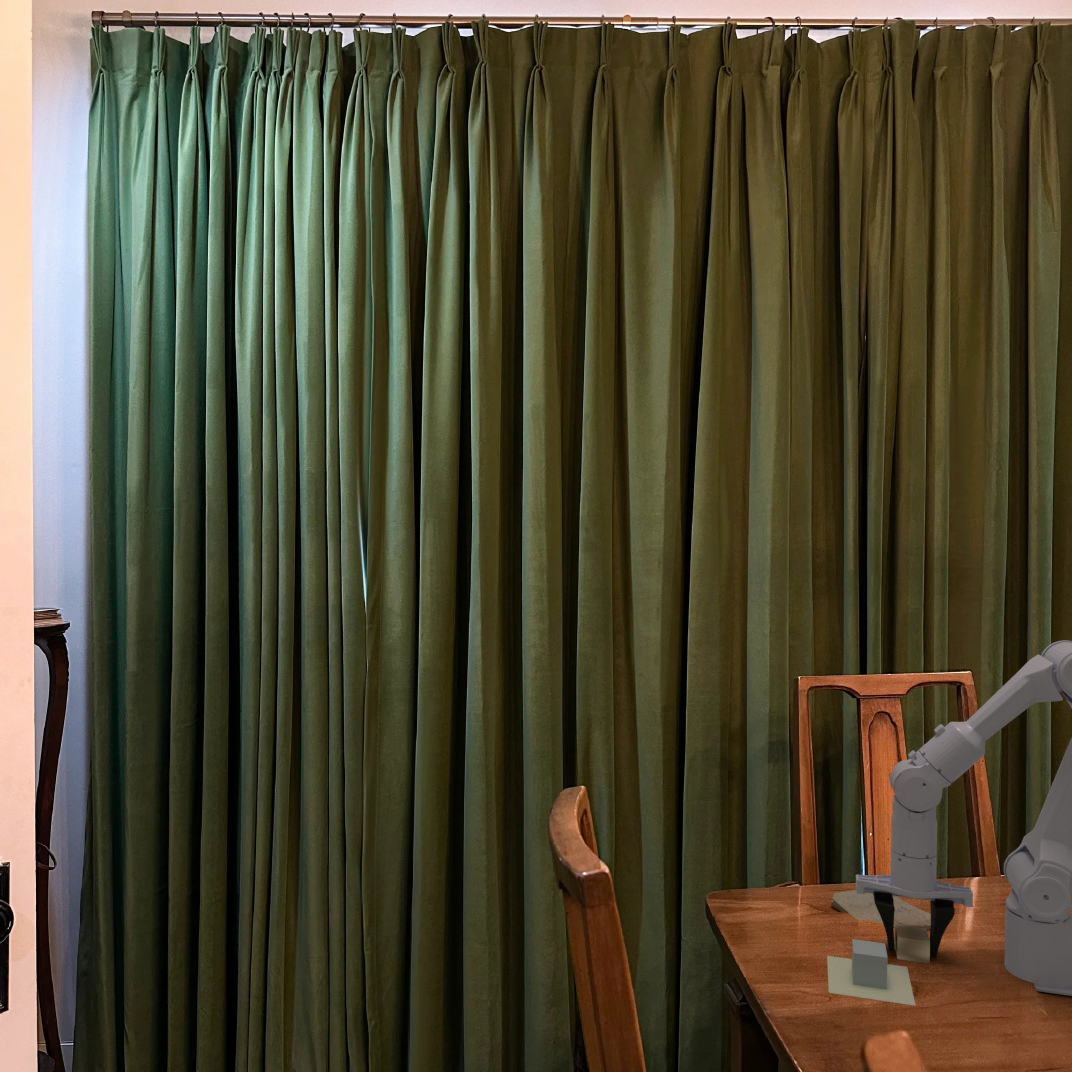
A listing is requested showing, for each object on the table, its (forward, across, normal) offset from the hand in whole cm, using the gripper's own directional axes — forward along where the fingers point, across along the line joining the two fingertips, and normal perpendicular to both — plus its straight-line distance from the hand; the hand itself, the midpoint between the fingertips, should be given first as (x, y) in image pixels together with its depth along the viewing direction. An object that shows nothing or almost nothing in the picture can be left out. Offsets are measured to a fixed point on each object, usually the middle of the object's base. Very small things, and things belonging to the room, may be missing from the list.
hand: (911, 951), depth 123 cm
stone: (+2, +3, -14) cm, 15 cm away
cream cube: (+2, 0, 0) cm, 2 cm away
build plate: (+1, +6, +9) cm, 11 cm away
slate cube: (0, +6, +9) cm, 11 cm away
